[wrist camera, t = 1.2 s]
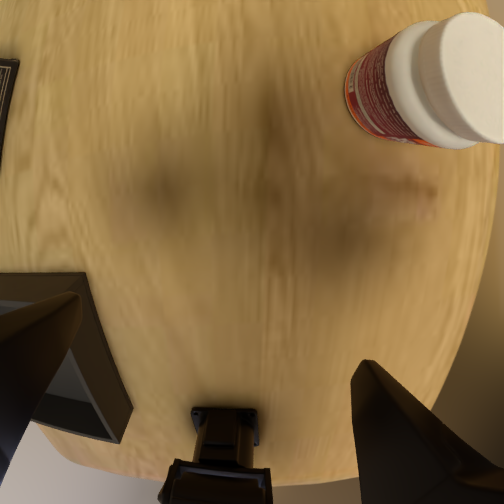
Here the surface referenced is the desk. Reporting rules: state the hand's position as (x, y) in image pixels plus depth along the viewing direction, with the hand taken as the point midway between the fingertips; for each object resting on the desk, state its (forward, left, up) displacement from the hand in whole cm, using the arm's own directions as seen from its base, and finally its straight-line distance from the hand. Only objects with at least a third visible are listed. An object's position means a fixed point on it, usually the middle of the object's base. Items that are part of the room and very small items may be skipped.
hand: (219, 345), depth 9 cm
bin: (-12, +21, -13) cm, 27 cm away
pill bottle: (+8, -10, -13) cm, 19 cm away
